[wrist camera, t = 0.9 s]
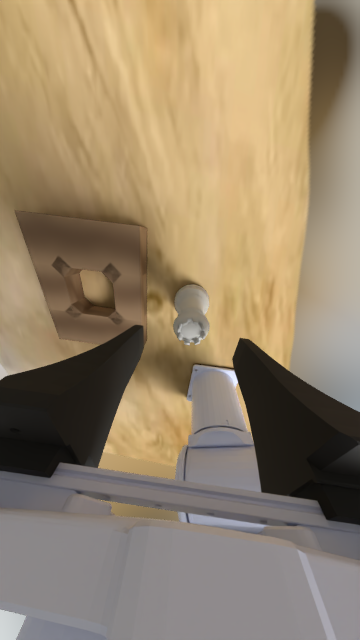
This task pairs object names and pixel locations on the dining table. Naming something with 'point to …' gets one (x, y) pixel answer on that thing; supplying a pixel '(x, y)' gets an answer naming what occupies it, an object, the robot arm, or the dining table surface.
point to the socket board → (88, 254)
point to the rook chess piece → (191, 314)
